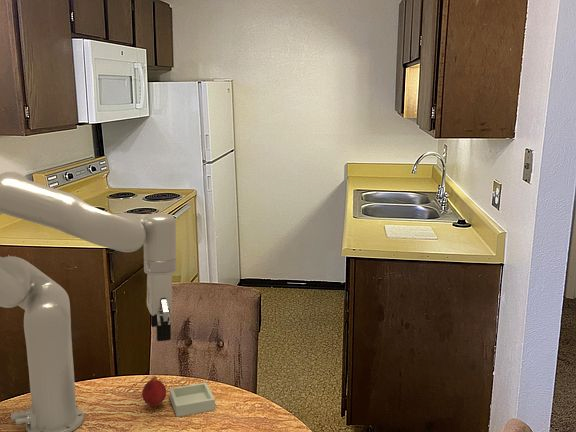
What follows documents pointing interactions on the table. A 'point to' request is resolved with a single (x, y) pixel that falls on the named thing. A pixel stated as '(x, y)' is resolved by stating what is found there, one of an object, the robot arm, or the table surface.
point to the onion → (154, 392)
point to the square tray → (192, 399)
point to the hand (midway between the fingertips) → (160, 332)
